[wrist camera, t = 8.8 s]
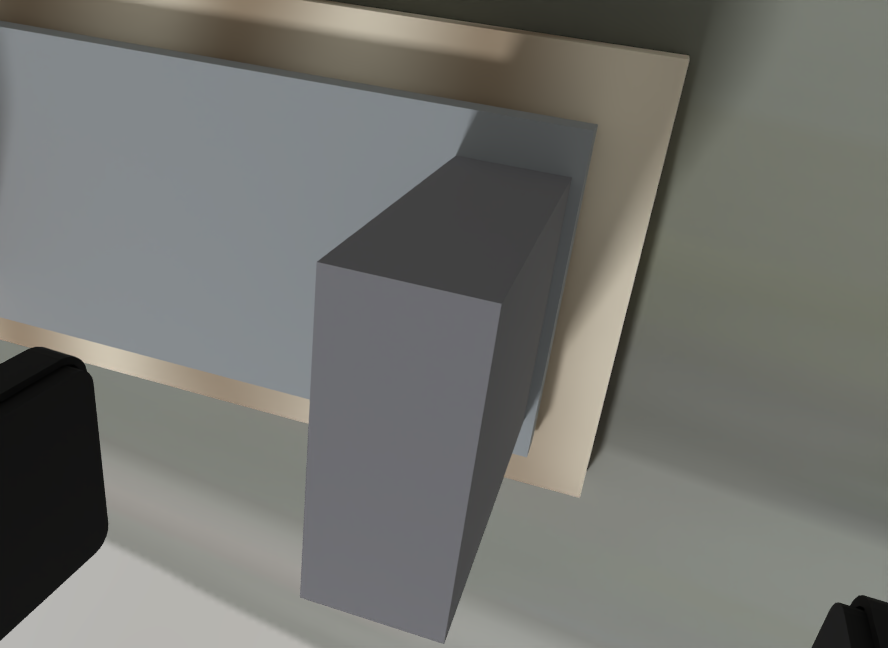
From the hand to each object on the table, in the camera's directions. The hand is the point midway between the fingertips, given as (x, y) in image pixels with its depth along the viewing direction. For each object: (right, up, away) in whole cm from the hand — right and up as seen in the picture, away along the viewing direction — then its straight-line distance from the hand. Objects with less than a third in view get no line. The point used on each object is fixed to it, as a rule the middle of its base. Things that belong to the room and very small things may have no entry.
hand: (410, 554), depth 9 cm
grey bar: (-7, +6, +10) cm, 14 cm away
